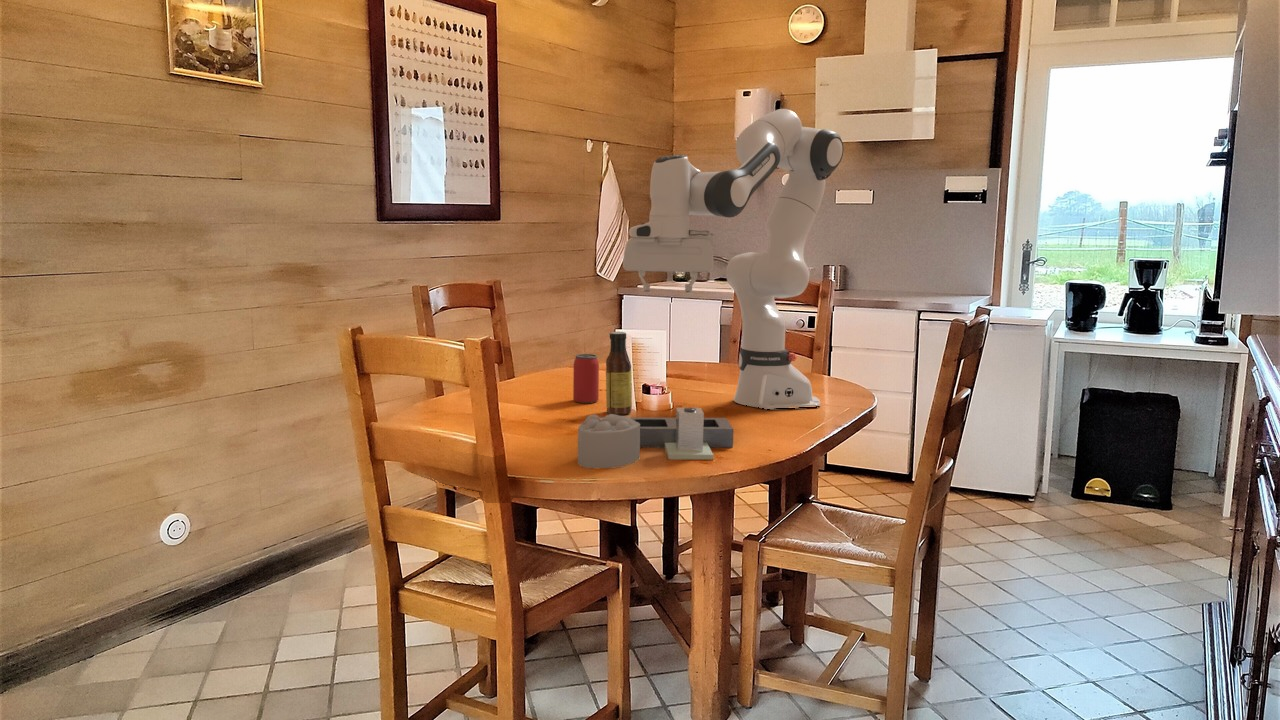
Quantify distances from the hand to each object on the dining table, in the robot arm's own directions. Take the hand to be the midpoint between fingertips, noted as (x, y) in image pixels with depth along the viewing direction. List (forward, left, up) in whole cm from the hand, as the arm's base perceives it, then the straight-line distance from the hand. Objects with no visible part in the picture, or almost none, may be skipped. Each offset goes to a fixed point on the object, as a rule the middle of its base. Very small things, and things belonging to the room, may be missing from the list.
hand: (667, 292), depth 192 cm
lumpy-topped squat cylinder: (+14, +27, -31) cm, 44 cm away
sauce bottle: (+10, -14, -31) cm, 36 cm away
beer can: (+18, -27, -31) cm, 45 cm away
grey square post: (-3, +22, -30) cm, 37 cm away
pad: (-3, +22, -31) cm, 38 cm away
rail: (-1, +12, -31) cm, 33 cm away
